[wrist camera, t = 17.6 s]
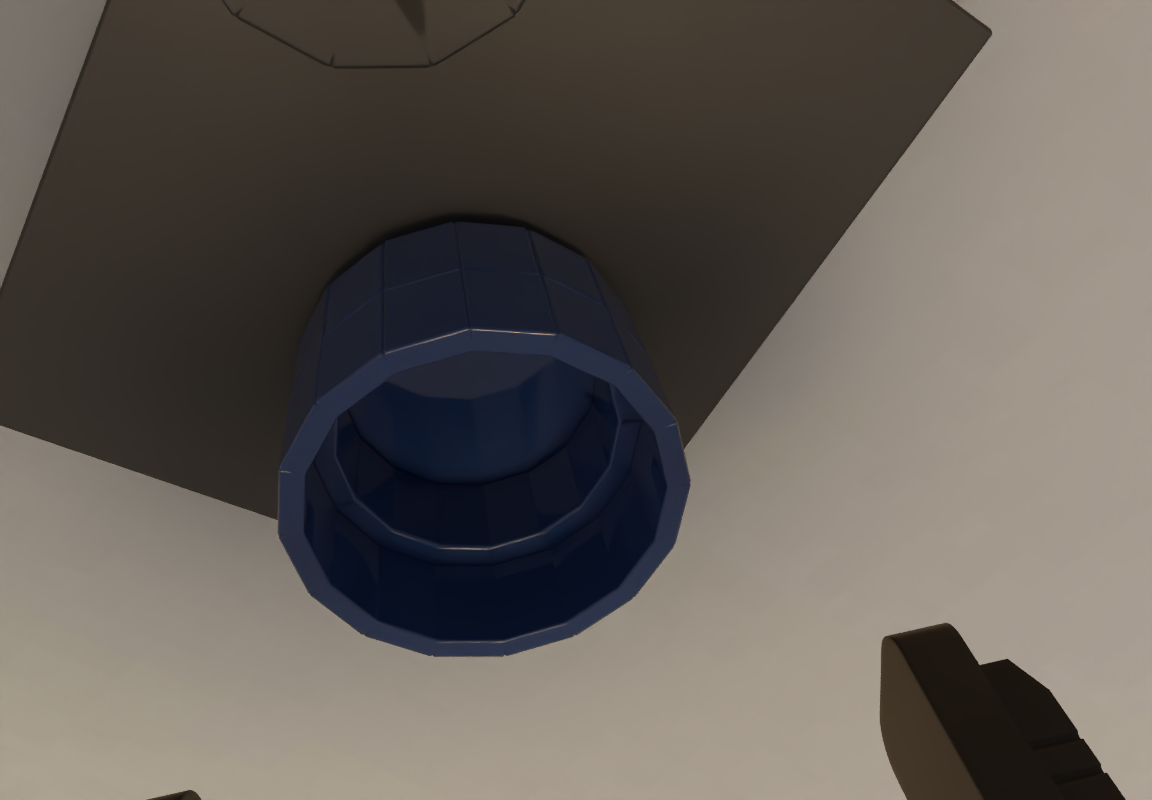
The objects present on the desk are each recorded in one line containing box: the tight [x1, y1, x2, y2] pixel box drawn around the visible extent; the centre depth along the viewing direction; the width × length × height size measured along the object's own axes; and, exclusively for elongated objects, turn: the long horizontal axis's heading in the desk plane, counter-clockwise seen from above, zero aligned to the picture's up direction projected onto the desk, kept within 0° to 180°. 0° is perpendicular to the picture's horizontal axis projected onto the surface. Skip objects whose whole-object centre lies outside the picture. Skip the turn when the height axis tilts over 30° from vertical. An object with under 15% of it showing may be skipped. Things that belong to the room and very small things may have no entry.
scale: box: [0, 0, 992, 520], centre depth 18 cm, size 15×13×3 cm
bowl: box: [278, 221, 691, 657], centre depth 18 cm, size 6×6×4 cm
